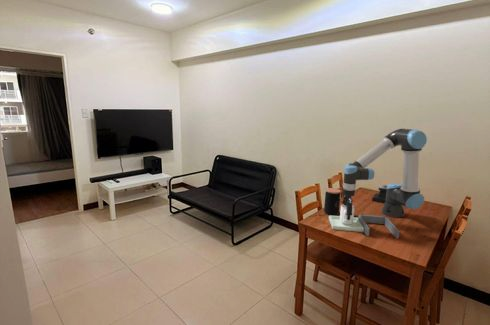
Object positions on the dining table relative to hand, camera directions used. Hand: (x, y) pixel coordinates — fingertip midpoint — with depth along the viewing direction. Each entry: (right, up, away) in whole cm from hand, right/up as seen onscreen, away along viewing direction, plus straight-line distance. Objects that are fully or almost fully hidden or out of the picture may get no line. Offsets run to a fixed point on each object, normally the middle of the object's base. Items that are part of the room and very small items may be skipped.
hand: (345, 220), depth 176 cm
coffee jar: (-3, +1, +21) cm, 21 cm away
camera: (+52, +6, +49) cm, 72 cm away
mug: (0, -1, 0) cm, 1 cm away
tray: (0, -3, +1) cm, 3 cm away
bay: (+18, -5, -5) cm, 19 cm away
